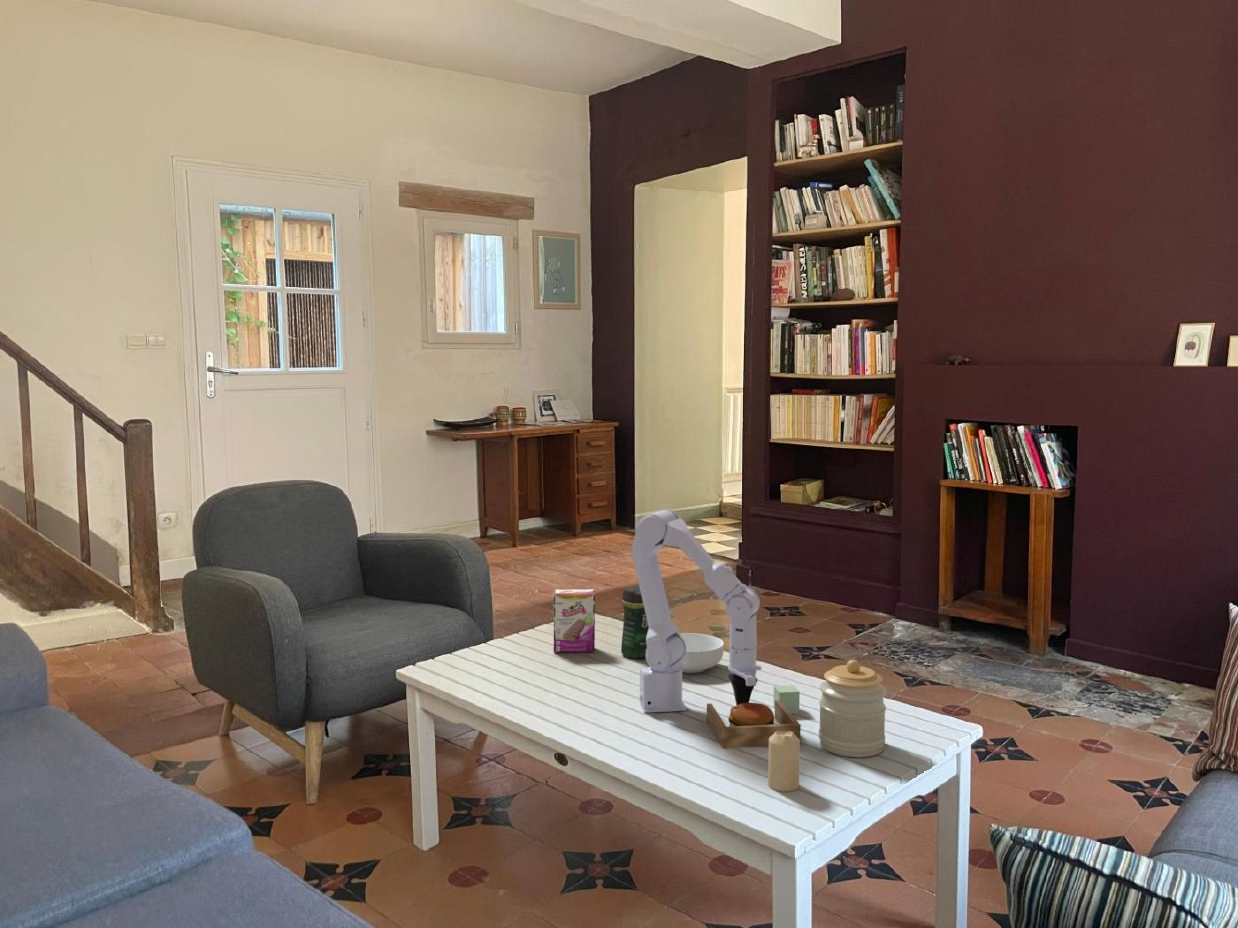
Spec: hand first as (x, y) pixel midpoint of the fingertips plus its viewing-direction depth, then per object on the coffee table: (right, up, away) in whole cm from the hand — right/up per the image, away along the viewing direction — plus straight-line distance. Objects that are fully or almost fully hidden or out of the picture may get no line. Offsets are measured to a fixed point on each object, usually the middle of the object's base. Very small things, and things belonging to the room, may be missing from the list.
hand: (742, 707), depth 204 cm
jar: (+20, -4, -15) cm, 25 cm away
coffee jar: (-21, +2, +46) cm, 51 cm away
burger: (+1, -3, -5) cm, 6 cm away
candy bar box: (-39, +2, +50) cm, 63 cm away
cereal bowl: (-9, +1, +35) cm, 36 cm away
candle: (+3, -6, -33) cm, 34 cm away
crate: (+1, -3, -8) cm, 8 cm away
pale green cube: (+10, -2, +5) cm, 12 cm away
